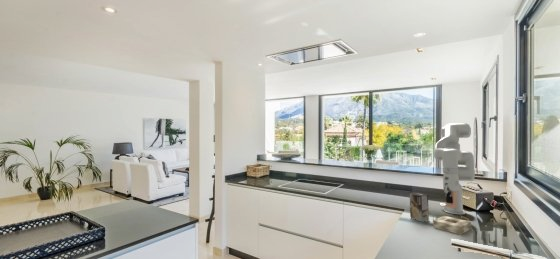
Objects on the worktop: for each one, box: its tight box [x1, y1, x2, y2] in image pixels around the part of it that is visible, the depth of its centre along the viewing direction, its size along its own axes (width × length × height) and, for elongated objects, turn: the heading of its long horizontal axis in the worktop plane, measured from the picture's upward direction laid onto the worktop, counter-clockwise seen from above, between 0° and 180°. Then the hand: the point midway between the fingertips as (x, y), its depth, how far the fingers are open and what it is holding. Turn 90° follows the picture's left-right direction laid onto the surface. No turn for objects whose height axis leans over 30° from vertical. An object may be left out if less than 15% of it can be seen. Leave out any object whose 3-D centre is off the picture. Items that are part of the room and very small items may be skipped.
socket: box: [432, 215, 472, 235], centre depth 147 cm, size 14×14×4 cm
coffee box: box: [409, 192, 430, 223], centre depth 162 cm, size 9×6×16 cm
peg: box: [445, 189, 457, 208], centre depth 147 cm, size 4×4×11 cm
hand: (451, 202), depth 147 cm, fingers closed on peg, 4 cm apart
